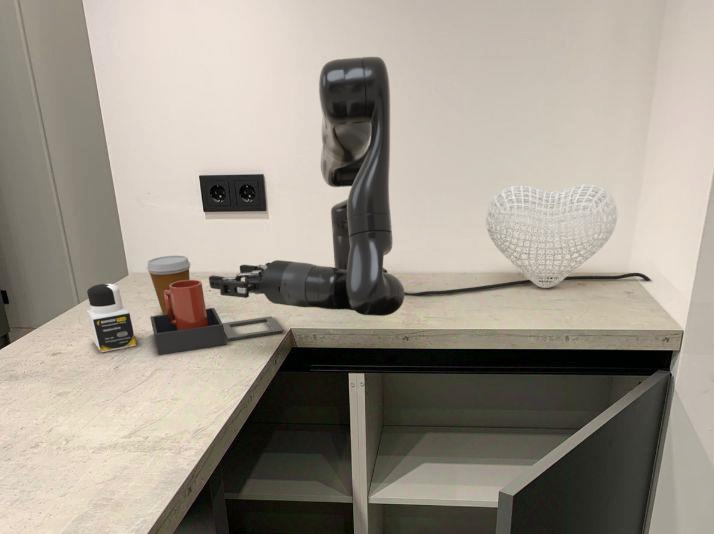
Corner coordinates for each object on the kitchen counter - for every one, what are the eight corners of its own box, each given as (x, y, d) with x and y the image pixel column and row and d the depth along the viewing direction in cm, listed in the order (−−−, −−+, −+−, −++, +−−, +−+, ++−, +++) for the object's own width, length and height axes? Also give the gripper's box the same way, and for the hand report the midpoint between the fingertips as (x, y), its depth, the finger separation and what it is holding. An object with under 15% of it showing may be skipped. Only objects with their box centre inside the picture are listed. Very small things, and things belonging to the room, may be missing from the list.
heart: (610, 280, 171) (621, 178, 160) (608, 299, 158) (620, 189, 148) (490, 277, 179) (493, 180, 169) (478, 294, 167) (481, 191, 156)
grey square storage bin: (217, 326, 157) (214, 307, 155) (226, 344, 145) (223, 324, 143) (154, 335, 153) (150, 316, 151) (158, 354, 142) (154, 334, 140)
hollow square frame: (271, 318, 159) (271, 316, 159) (282, 333, 150) (282, 330, 150) (221, 326, 157) (220, 323, 156) (229, 341, 147) (228, 338, 147)
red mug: (216, 335, 149) (208, 281, 144) (195, 345, 145) (185, 289, 139) (183, 330, 154) (173, 277, 148) (161, 339, 149) (151, 284, 144)
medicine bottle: (100, 353, 145) (86, 292, 139) (94, 343, 151) (80, 285, 145) (136, 346, 148) (124, 286, 142) (129, 336, 154) (116, 279, 148)
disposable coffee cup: (188, 320, 162) (178, 264, 156) (148, 319, 164) (137, 265, 158) (204, 307, 170) (196, 254, 164) (166, 307, 172) (157, 255, 166)
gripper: (317, 253, 132) (248, 247, 140) (267, 272, 122) (196, 264, 130) (320, 294, 136) (253, 286, 143) (273, 316, 125) (203, 306, 133)
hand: (226, 276), depth 137 cm, fingers open, 8 cm apart
